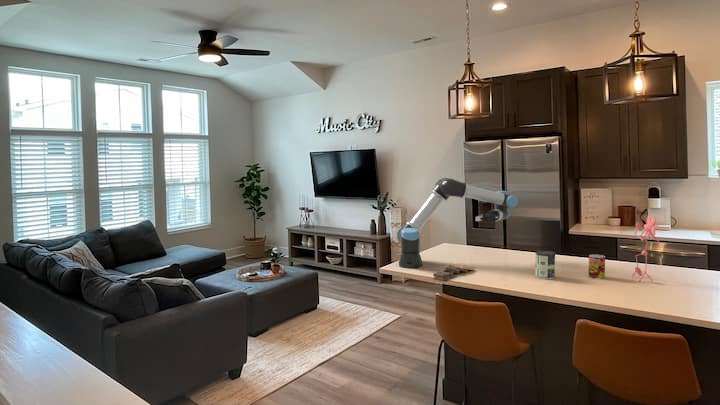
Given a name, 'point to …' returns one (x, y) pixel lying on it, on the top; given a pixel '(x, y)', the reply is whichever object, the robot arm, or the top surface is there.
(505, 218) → the robot arm
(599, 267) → the canned food
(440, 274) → the domino
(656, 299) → the top surface
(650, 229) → the figurine
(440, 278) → the domino
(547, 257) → the coffee can
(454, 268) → the domino
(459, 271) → the domino
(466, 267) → the domino
